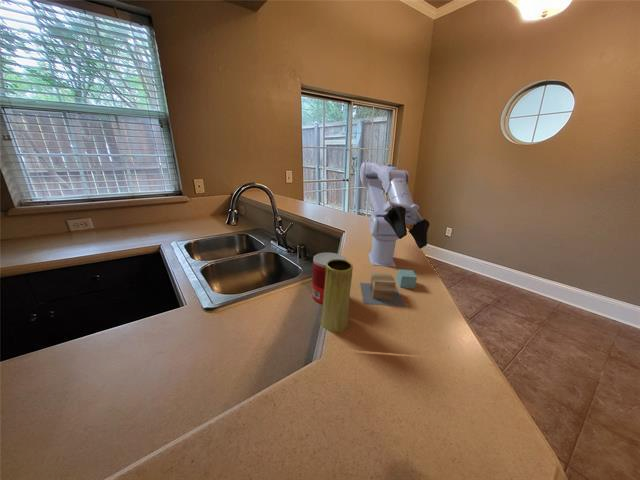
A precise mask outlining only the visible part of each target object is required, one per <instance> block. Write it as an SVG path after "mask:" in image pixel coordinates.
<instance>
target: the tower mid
mask: <svg viewBox="0 0 640 480" xmlns="http://www.w3.org/2000/svg"><path fill="white" fill-rule="evenodd" d="M370 278H371V279H370V283H371V282H372V285H373V289H374V290H380V291H394V289H395V285H396V282H397V281H395V278H394V276H393V274H392V272H383V271H382V272H381V271H372V272H371V277H370Z"/></svg>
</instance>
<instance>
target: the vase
mask: <svg viewBox="0 0 640 480" xmlns="http://www.w3.org/2000/svg"><path fill="white" fill-rule="evenodd" d="M353 268H354V267H353V263H352V262H351V261H349V260H347V259H346V260H342V259H333V260H330V261H328V262H327V263H326V275H325V287H324V298H323V305H322V309H321V318H320V325H321V327H322V328H323V329H324V330H326V331H328V332H332V333H341V332H344V331H345V330H347V328H348V327H349V325H350V323H349V321H350V320H349V312H350V310H349V309H350V297H351V288H352V287H351V286H352V279H353V270H354V269H353Z"/></svg>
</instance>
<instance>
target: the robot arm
mask: <svg viewBox="0 0 640 480" xmlns="http://www.w3.org/2000/svg"><path fill="white" fill-rule="evenodd" d="M409 177H410V175H409V172H408V171H407V170H406V169H402V170H401V169H398V168H397V167H396V166H393V164H392V163H386V162H365V161H363V162H362V163H361V164H360V169H359V178H360V183H361V185H362V186H363V187H365V188H366V191H367V193H368V194H367V195H368V197H369V199H370V203H371V206H372V209H373V212H372V213H371V215H370V218H369V223H368V224H369V233H370V234H371V236H372V241H371V249H370V252H368V253H367V255H368V259H369V262H370V265H371V266H379V267H380V266H381V267H395V268H396V267H397V265H396V262H395V261H394V256H395V255H394V254H395V249H396V245H397V244H396V243H397V240H401V239H402V238H405V236H407V235H408V233H409V234H410V235H411V236H412V238H413V239H414V242H415V245H416V246H417V247H418V249H420V250H421V249H423V248H425V247H426V246H427V245H428V231H429V227H430V222H429V220H427V219H425V218H422V216H421V215H420V213H419V212H418V210H420V206H419V205H418V204H416V203H414V201H413V197H412V194H411V193H410V188H409V186H408V185H409V180H410V179H409ZM382 189H383V190H382ZM383 191H385V194H388V199H389V200H386V198H385V195H384V192H383ZM407 225H410V226H412V228H411V229H409V230H407Z"/></svg>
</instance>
